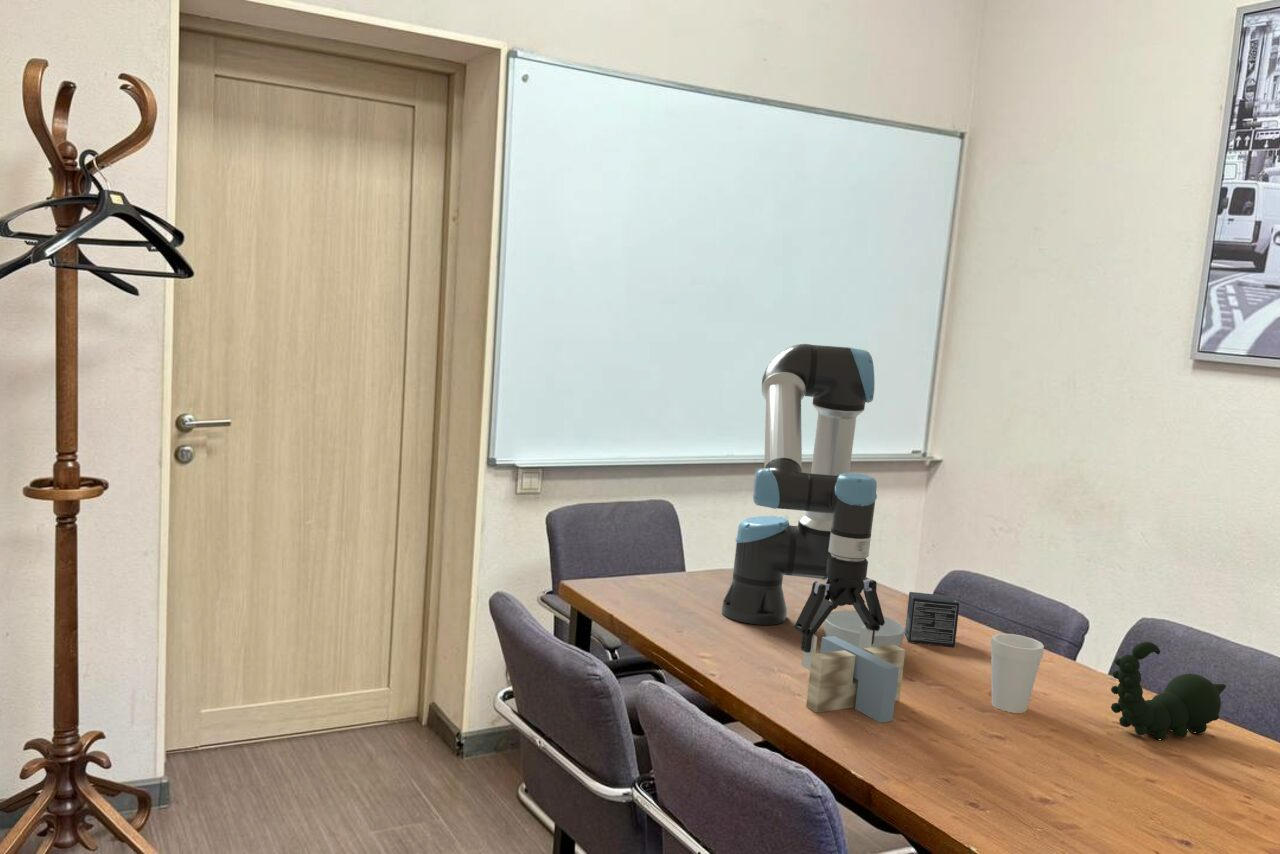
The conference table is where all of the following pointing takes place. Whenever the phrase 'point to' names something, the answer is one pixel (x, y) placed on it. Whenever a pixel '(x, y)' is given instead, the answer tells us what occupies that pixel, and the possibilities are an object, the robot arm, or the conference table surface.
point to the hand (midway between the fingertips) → (835, 664)
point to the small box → (932, 619)
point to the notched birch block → (844, 677)
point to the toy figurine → (1164, 699)
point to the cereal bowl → (850, 623)
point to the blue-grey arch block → (869, 680)
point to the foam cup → (1013, 670)
